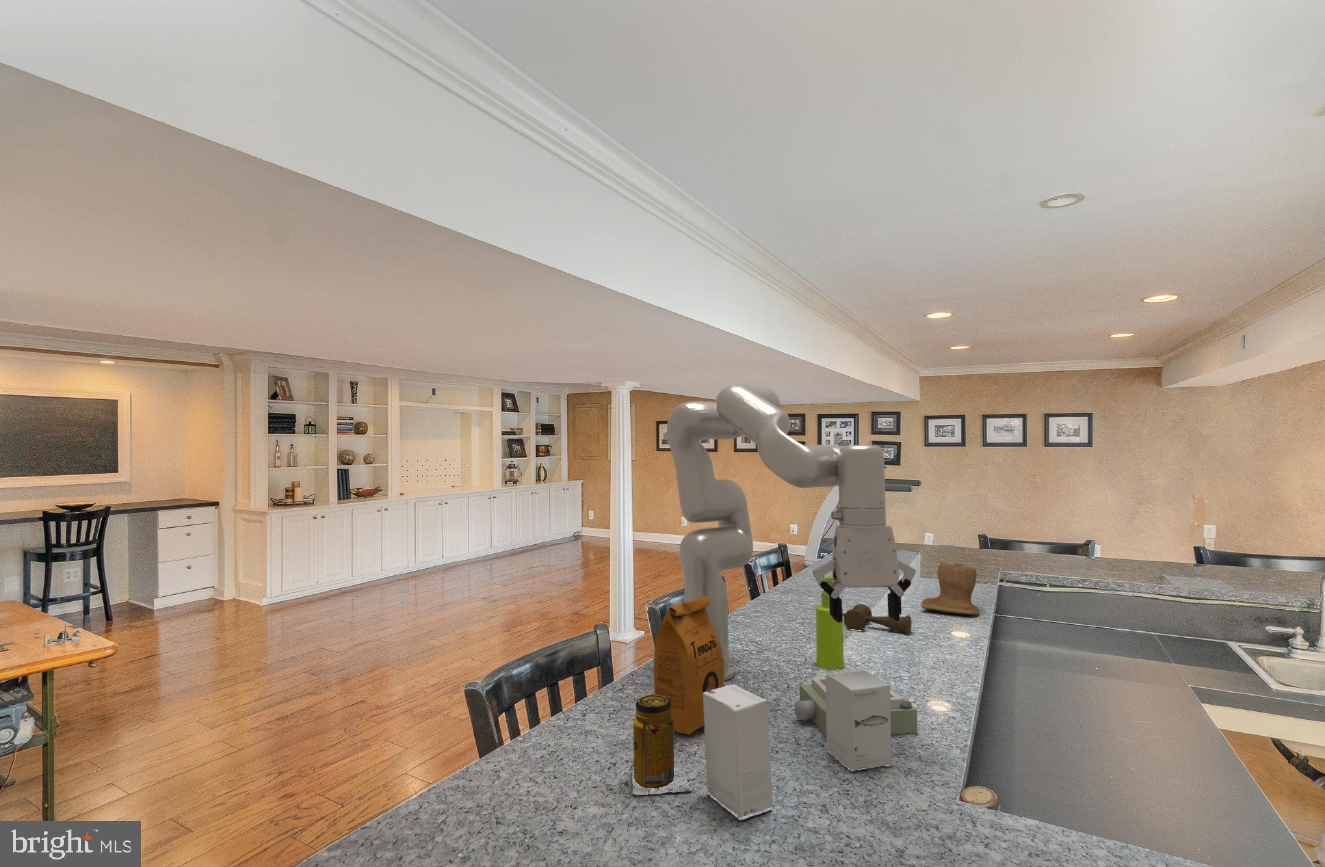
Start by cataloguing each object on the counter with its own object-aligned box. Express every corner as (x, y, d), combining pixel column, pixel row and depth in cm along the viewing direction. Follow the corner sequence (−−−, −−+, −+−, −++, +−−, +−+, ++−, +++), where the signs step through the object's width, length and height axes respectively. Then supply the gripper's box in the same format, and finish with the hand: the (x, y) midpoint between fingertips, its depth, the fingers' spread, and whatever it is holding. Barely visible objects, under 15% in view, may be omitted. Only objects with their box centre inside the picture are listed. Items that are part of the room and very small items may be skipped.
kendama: (907, 641, 160) (830, 628, 170) (913, 632, 168) (839, 620, 179) (908, 617, 160) (831, 606, 170) (914, 610, 169) (840, 599, 179)
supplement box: (851, 774, 94) (849, 689, 94) (825, 751, 101) (824, 673, 101) (893, 767, 96) (891, 684, 96) (865, 745, 103) (863, 668, 103)
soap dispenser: (849, 671, 137) (848, 580, 138) (817, 669, 138) (816, 579, 139) (847, 662, 143) (845, 575, 143) (816, 660, 144) (815, 574, 145)
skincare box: (773, 811, 84) (772, 700, 85) (737, 825, 81) (736, 710, 82) (737, 783, 92) (735, 681, 92) (702, 794, 89) (701, 689, 89)
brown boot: (981, 610, 187) (980, 560, 187) (976, 620, 177) (975, 567, 177) (928, 604, 195) (927, 556, 196) (920, 612, 185) (919, 562, 186)
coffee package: (733, 720, 113) (732, 598, 113) (687, 743, 104) (686, 611, 105) (693, 704, 120) (691, 590, 120) (646, 725, 111) (645, 601, 112)
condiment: (630, 771, 95) (629, 692, 96) (685, 768, 96) (684, 689, 96) (632, 797, 88) (632, 712, 88) (691, 794, 89) (690, 709, 89)
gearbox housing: (811, 740, 104) (811, 707, 105) (784, 706, 118) (784, 677, 119) (917, 732, 107) (916, 700, 107) (878, 700, 121) (878, 672, 121)
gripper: (818, 521, 101) (821, 627, 100) (922, 518, 102) (926, 624, 101) (806, 516, 108) (808, 615, 108) (903, 514, 109) (906, 612, 108)
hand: (865, 619), depth 104 cm, fingers open, 9 cm apart
